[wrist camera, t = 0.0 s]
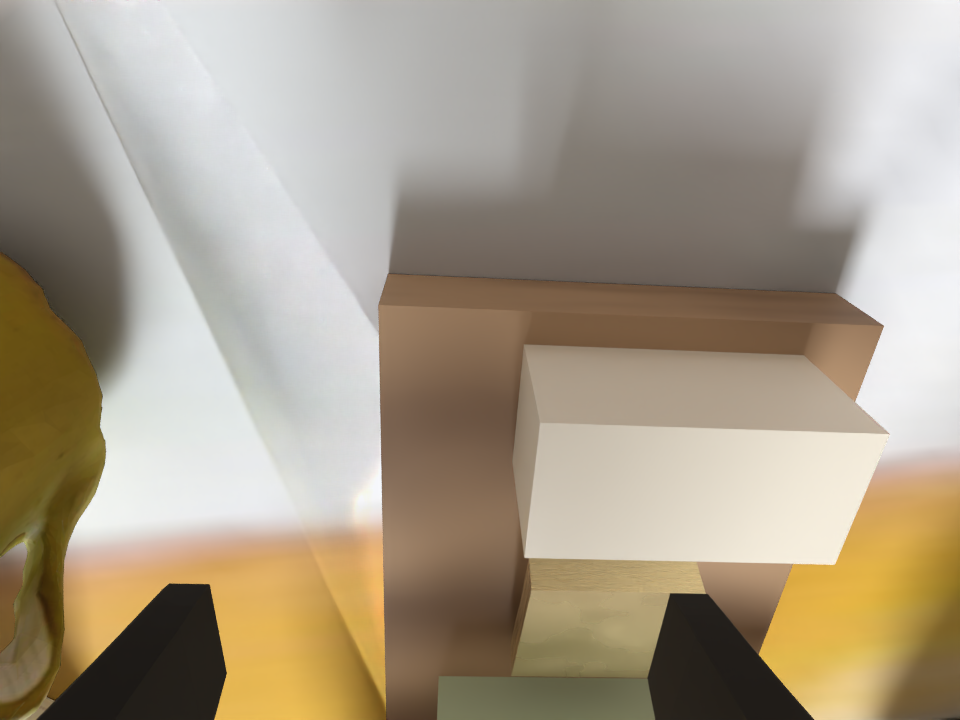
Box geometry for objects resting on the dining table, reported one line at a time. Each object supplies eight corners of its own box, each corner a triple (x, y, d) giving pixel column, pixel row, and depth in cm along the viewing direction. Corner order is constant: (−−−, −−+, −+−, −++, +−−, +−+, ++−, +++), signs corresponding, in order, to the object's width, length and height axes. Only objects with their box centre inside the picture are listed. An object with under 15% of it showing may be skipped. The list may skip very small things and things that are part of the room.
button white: (766, 469, 20) (835, 564, 16) (512, 462, 19) (524, 558, 16) (803, 355, 18) (889, 433, 14) (523, 344, 17) (540, 422, 14)
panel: (681, 754, 30) (711, 851, 27) (393, 752, 30) (384, 852, 26) (835, 293, 20) (921, 351, 16) (388, 273, 19) (370, 329, 15)
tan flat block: (647, 648, 23) (653, 677, 22) (510, 646, 22) (511, 675, 22) (696, 561, 19) (706, 593, 18) (529, 558, 18) (531, 589, 18)
